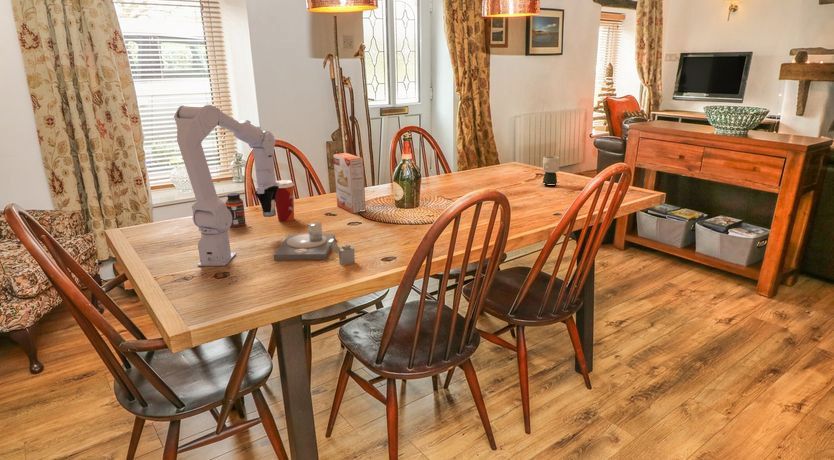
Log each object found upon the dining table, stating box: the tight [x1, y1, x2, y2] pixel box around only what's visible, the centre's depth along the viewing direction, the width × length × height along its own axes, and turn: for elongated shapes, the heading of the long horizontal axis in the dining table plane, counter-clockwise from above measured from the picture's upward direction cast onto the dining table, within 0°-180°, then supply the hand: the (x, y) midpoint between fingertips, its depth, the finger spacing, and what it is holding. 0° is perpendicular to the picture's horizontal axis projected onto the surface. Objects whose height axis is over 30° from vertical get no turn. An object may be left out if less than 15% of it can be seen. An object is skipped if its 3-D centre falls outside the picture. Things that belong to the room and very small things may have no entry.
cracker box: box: [333, 152, 367, 214], centre depth 199 cm, size 14×6×21 cm, turn 33°
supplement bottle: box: [225, 192, 246, 228], centre depth 182 cm, size 6×6×11 cm
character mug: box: [542, 155, 561, 184], centre depth 231 cm, size 11×7×13 cm, turn 133°
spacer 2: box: [307, 222, 323, 242], centre depth 159 cm, size 4×4×5 cm
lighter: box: [328, 239, 356, 266], centre depth 145 cm, size 7×2×8 cm, turn 124°
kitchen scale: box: [272, 233, 336, 261], centre depth 159 cm, size 18×15×2 cm
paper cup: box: [274, 179, 295, 223], centre depth 188 cm, size 8×8×14 cm
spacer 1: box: [262, 199, 277, 218], centre depth 169 cm, size 4×4×5 cm
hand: (269, 210), depth 169 cm, fingers closed on spacer 1, 4 cm apart
